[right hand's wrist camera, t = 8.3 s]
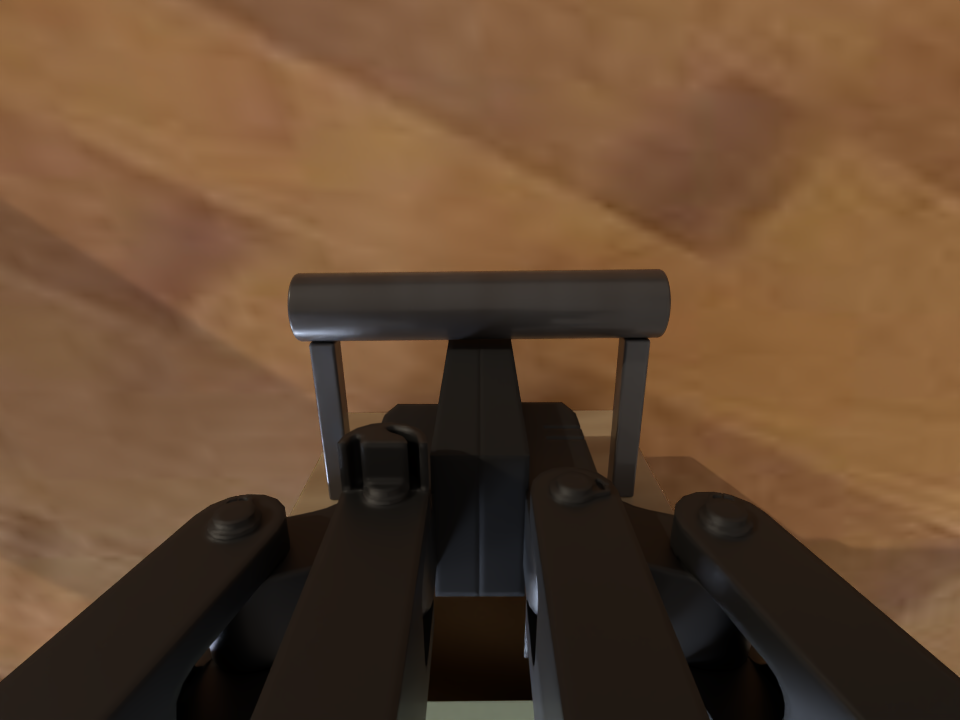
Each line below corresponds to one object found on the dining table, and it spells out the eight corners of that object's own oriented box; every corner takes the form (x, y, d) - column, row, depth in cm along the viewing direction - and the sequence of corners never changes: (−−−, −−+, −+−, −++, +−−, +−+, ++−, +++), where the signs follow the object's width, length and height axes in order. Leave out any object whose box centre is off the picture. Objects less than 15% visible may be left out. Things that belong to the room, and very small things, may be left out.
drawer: (323, 241, 17) (225, 296, 10) (634, 237, 17) (732, 290, 10) (383, 772, 26) (352, 979, 19) (586, 770, 26) (622, 976, 19)
